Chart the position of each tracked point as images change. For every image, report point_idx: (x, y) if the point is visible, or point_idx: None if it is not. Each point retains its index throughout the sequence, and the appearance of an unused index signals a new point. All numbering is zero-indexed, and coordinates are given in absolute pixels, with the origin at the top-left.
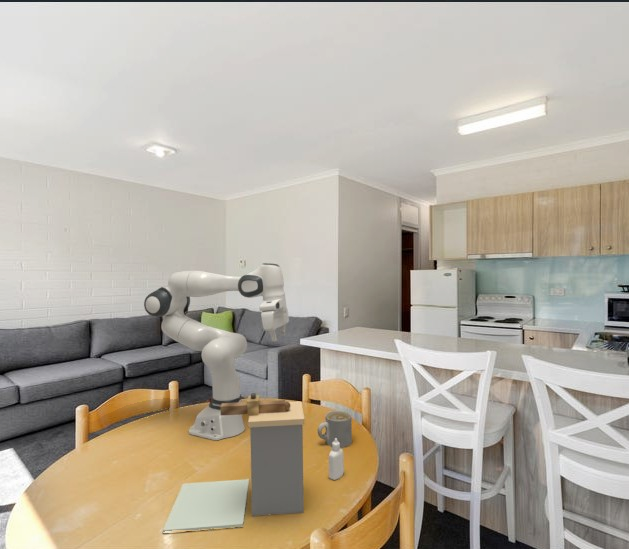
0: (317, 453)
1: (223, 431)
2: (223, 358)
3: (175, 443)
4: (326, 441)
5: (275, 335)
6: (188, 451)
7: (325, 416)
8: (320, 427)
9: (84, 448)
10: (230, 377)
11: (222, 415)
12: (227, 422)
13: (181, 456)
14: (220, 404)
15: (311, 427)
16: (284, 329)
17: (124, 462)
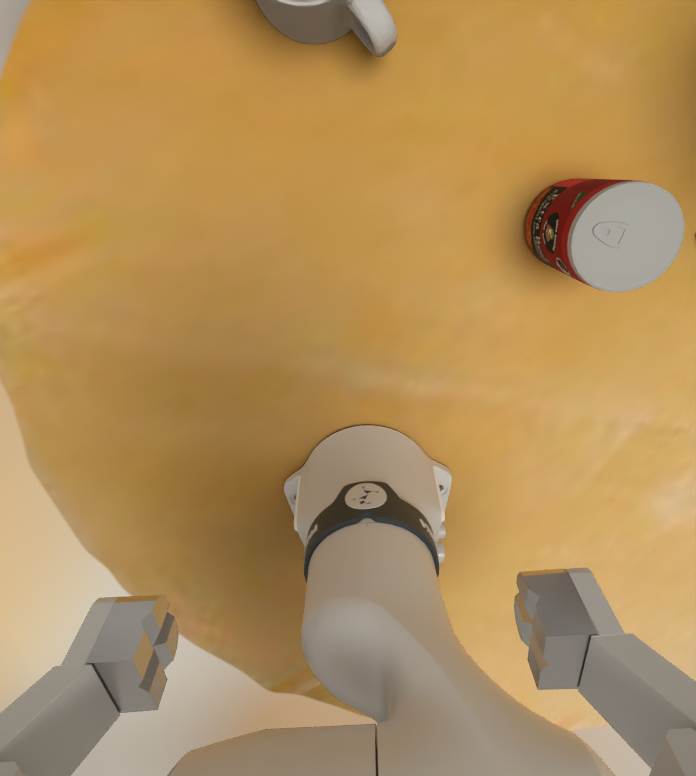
0: (452, 42)
1: (432, 473)
2: (594, 768)
3: (494, 567)
4: (349, 28)
5: (637, 651)
6: (533, 509)
7: (331, 1)
8: (394, 26)
9: (563, 726)
10: (437, 624)
11: (435, 515)
12: (422, 483)
13: (565, 510)
14: (437, 554)
15: (223, 168)
16: (47, 707)
17: (617, 613)
